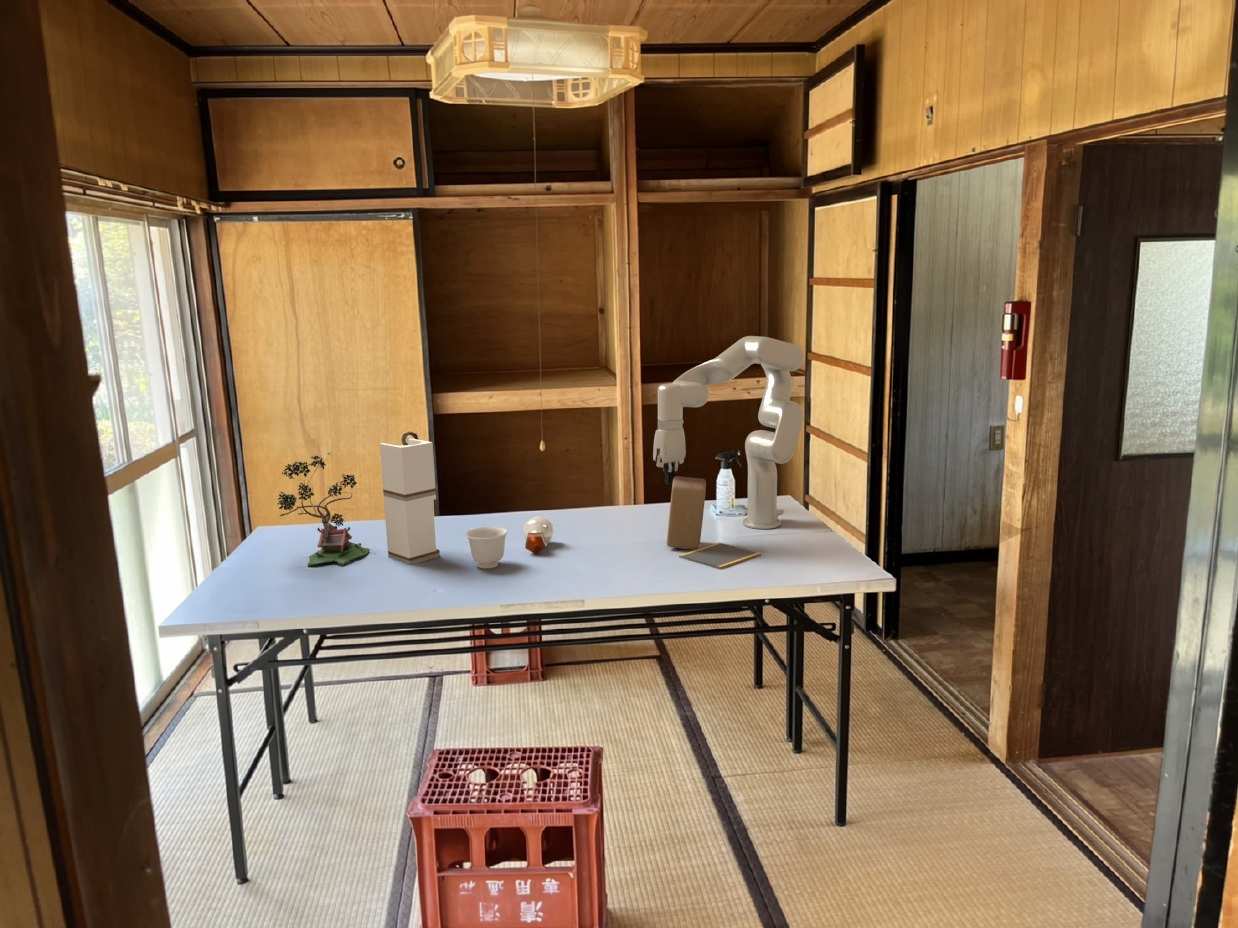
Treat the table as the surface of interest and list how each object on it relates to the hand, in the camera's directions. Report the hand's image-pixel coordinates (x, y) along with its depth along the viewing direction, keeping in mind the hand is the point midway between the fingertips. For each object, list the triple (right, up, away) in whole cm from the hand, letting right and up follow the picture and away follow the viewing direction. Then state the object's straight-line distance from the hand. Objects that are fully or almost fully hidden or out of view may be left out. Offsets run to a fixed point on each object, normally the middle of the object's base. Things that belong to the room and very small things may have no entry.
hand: (670, 483), depth 266 cm
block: (+4, -18, 0) cm, 19 cm away
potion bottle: (-41, -20, +2) cm, 45 cm away
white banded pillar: (-78, -22, -5) cm, 81 cm away
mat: (+14, -21, -11) cm, 28 cm away
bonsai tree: (-105, -23, -7) cm, 108 cm away
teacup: (-55, -23, -13) cm, 61 cm away
